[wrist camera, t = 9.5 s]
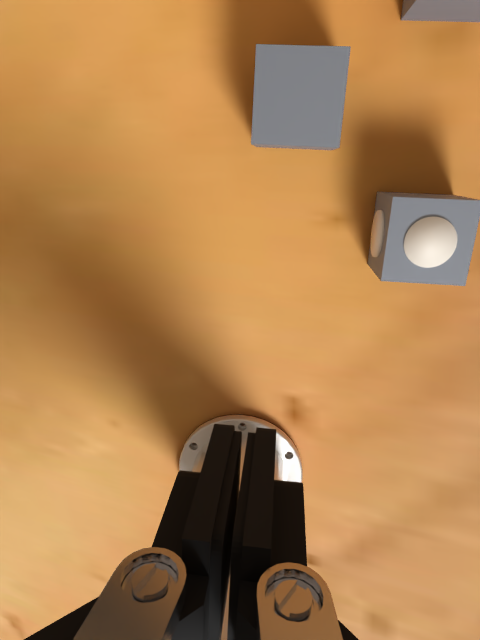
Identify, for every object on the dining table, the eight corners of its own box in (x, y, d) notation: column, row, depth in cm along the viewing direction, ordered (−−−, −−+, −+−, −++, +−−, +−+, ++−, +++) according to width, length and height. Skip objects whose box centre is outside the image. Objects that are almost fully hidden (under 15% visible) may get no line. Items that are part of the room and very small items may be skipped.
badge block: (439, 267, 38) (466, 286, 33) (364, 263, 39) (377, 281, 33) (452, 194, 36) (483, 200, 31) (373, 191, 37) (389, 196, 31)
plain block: (331, 150, 36) (339, 147, 31) (256, 146, 37) (251, 143, 31) (340, 65, 34) (350, 46, 29) (261, 63, 35) (256, 44, 29)
